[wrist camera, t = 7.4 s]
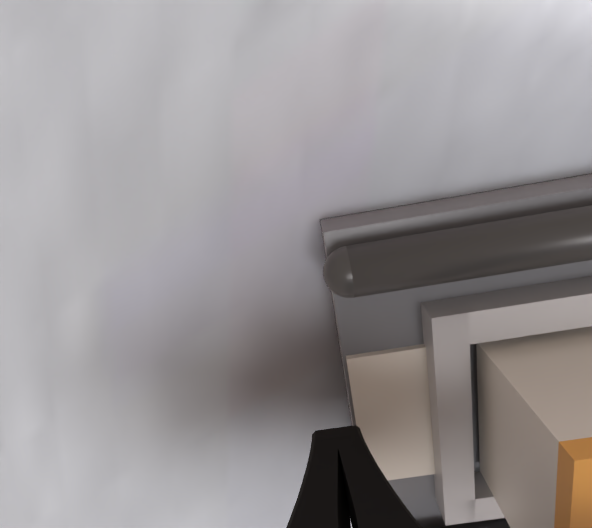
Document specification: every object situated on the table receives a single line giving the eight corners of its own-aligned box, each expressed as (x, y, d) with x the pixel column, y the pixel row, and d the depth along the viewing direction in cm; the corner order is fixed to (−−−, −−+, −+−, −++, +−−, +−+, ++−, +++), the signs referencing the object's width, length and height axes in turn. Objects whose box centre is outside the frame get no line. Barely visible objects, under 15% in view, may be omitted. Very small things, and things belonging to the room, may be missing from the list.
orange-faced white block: (614, 320, 12) (790, 431, 8) (601, 453, 14) (741, 605, 9) (476, 341, 12) (574, 460, 8) (479, 470, 14) (563, 626, 10)
